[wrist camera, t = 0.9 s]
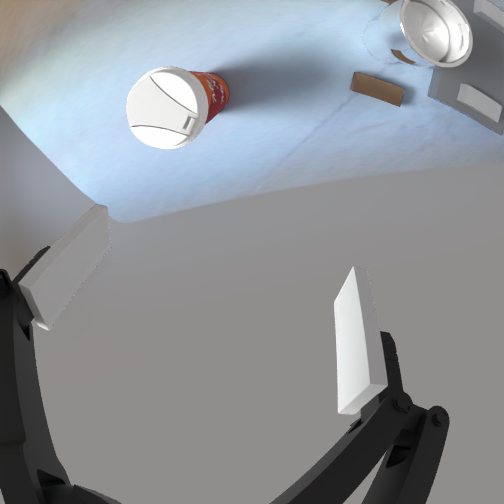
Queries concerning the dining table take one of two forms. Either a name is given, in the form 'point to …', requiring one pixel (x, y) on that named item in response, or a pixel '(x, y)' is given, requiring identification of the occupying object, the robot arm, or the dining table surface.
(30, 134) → the dining table surface
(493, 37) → the grey tray with risers
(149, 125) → the paper cup
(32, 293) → the robot arm
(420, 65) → the beer glass
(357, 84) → the twin wooden blocks
